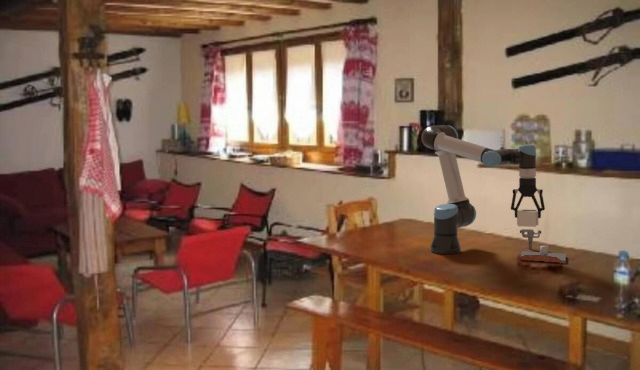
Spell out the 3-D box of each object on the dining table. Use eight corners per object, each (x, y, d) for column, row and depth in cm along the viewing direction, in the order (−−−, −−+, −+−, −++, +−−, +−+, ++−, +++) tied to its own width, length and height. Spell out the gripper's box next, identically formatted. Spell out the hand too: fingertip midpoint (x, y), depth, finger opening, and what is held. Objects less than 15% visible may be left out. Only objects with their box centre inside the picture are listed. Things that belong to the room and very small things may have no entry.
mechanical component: (541, 250, 324) (541, 230, 323) (519, 249, 326) (520, 230, 325) (540, 248, 327) (540, 229, 326) (519, 248, 329) (519, 229, 328)
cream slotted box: (518, 226, 304) (518, 210, 303) (519, 223, 311) (519, 208, 311) (535, 226, 301) (535, 211, 300) (537, 224, 308) (537, 208, 308)
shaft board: (520, 260, 304) (520, 248, 303) (522, 254, 317) (522, 242, 316) (565, 263, 297) (565, 251, 296) (565, 256, 310) (566, 244, 309)
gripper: (503, 178, 304) (504, 225, 307) (550, 178, 296) (550, 226, 299) (505, 176, 311) (506, 222, 314) (551, 176, 303) (551, 224, 306)
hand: (527, 224), depth 306 cm, fingers closed on cream slotted box, 8 cm apart
